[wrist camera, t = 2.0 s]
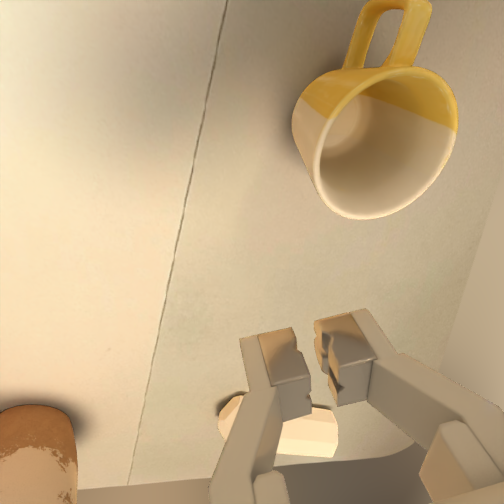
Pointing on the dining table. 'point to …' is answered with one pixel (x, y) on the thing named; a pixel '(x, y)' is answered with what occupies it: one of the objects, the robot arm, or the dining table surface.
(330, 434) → the crystal
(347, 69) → the mug
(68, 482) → the vase
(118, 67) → the dining table surface
